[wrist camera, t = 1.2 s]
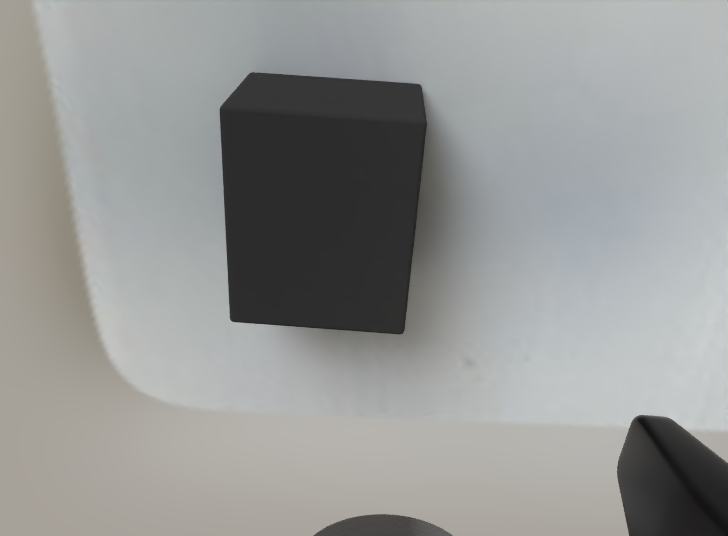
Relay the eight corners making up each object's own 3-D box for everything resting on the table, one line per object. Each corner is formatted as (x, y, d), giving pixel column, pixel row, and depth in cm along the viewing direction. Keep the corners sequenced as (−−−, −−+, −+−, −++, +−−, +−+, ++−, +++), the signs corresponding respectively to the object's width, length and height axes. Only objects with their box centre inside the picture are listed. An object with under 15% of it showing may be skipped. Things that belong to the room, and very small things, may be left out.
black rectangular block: (403, 271, 17) (403, 335, 15) (254, 260, 17) (229, 323, 15) (422, 83, 15) (427, 120, 12) (248, 71, 15) (218, 106, 12)
